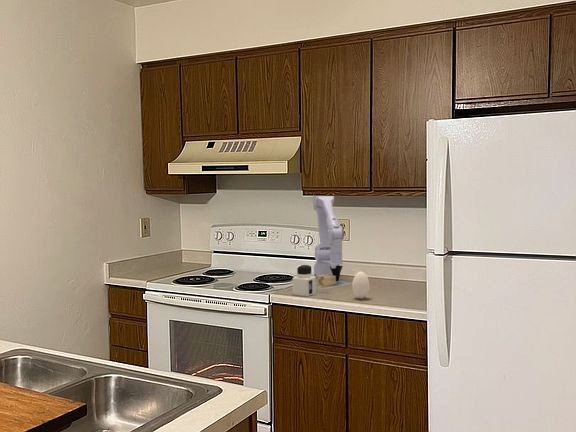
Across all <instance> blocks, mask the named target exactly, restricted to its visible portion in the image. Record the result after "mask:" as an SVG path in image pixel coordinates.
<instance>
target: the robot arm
mask: <svg viewBox="0 0 576 432" xmlns="http://www.w3.org/2000/svg"><path fill="white" fill-rule="evenodd" d="M334 203H335V195H334V196H313V195H312V206H313V210H314V211H316V215H317V224H318V225H317V226H318V236H319V243H318V244H317V245H316V246H315V247H314V259H315V260H316V262H315V263H314V264H313V276H314V277H316V279H318V276H319V275H326V274H330V275H334V276H336V281H339V280H340V276H341V271H342V269H343V240H344V238H345V237H344V236H345V232H344V228H343V227H342V226H341V225H340V223H339V219H338V217H337V216H336V215H335V212H334V207H333V206H334Z"/></svg>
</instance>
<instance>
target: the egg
mask: <svg viewBox="0 0 576 432" xmlns="http://www.w3.org/2000/svg"><path fill="white" fill-rule="evenodd" d="M351 283H352V284H351V289H352V293H353V295H354V296H355V297H356V298H357V299H360V300H361V299H362V300H363V299H365V298H366V297H367V296H368V295H369V292H370V289H371V288H370V281H369V277H368V276H367V274H366V273H365V272H363V271H358V272H357V273H356V274H355V275H354V277H353V280H352V282H351Z"/></svg>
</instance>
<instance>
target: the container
mask: <svg viewBox="0 0 576 432" xmlns="http://www.w3.org/2000/svg"><path fill="white" fill-rule="evenodd" d="M316 283H317V277H314V275H313V276H312V266H311V265H308V264H299V265H297V266H296V276H294V277H292V295H293V296H299V297H300V296H302V297H310V296H312V295H316V293H317V288H316V287H317V284H316Z"/></svg>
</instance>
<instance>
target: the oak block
mask: <svg viewBox="0 0 576 432" xmlns="http://www.w3.org/2000/svg"><path fill="white" fill-rule="evenodd" d="M317 279H318V281H317V283H319V284H318V285H321V286H325V287H326V286H332V285H333V284H336V276H334V275H330V274H326V275H319V276H318V278H317ZM333 286H334V285H333Z"/></svg>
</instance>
